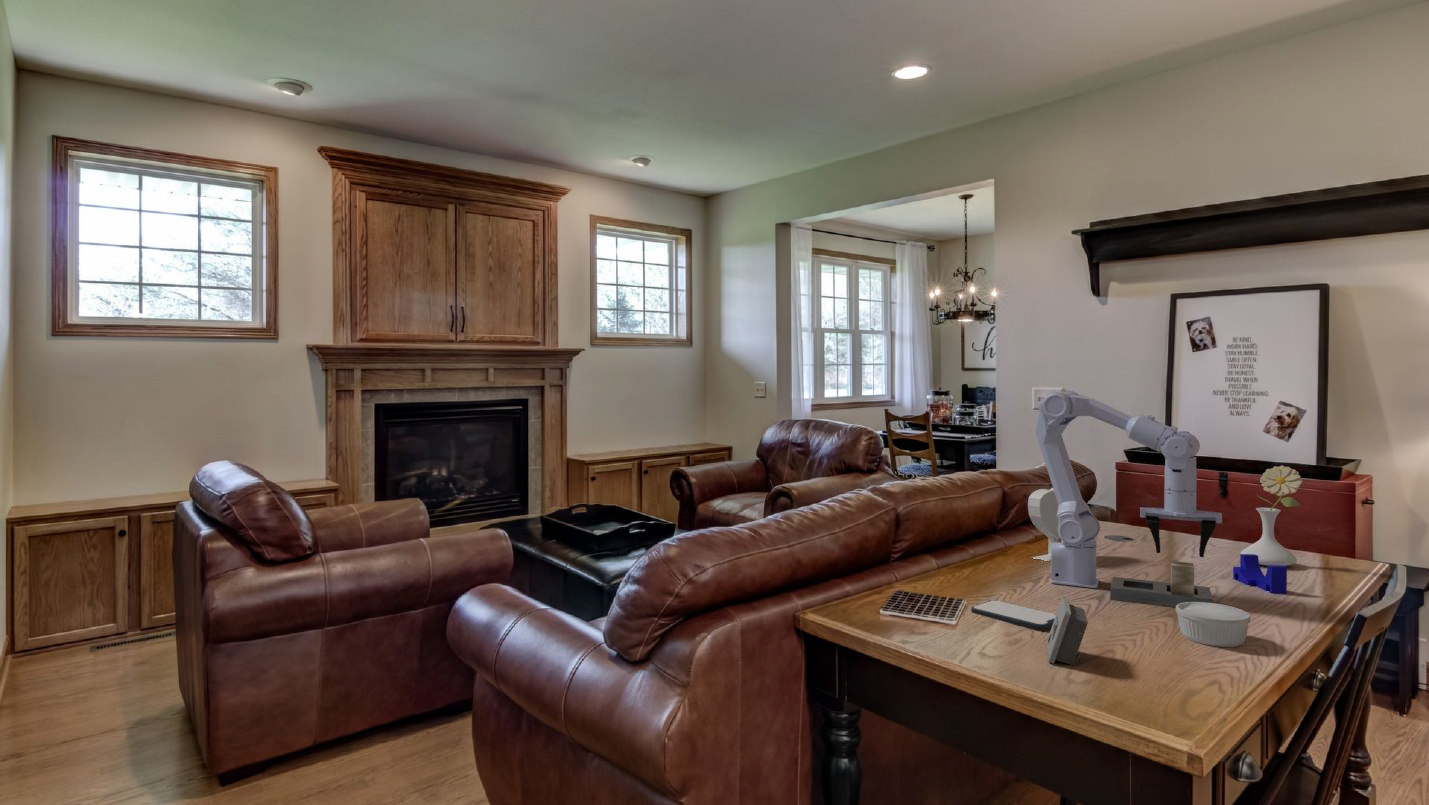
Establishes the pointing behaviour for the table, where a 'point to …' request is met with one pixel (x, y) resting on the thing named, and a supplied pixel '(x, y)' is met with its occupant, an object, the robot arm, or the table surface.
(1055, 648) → the electrical switch
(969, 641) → the table surface
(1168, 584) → the grey slotted board
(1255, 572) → the cable clip
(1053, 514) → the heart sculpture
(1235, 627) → the ramekin
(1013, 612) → the phone case
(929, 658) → the table surface
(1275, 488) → the flower in vase
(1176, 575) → the peg
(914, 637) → the table surface
